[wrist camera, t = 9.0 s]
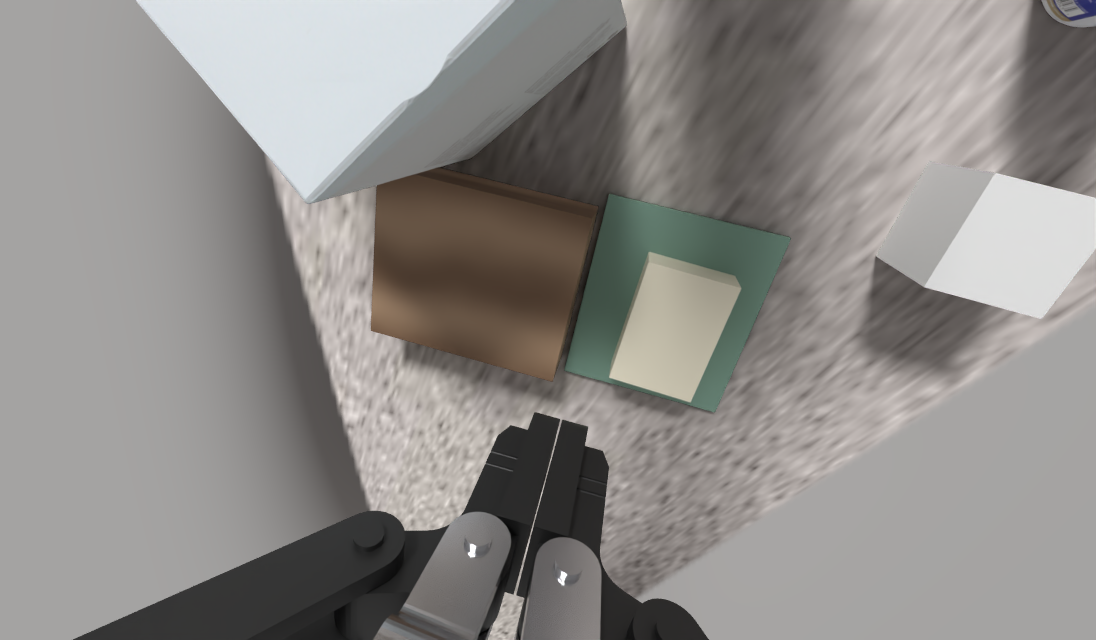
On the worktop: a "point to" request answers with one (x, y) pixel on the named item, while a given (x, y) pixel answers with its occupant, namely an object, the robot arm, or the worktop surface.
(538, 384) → the worktop surface
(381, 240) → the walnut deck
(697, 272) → the cream tile
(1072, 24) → the pill bottle
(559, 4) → the supplement box
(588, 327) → the green mat
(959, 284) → the white cube
